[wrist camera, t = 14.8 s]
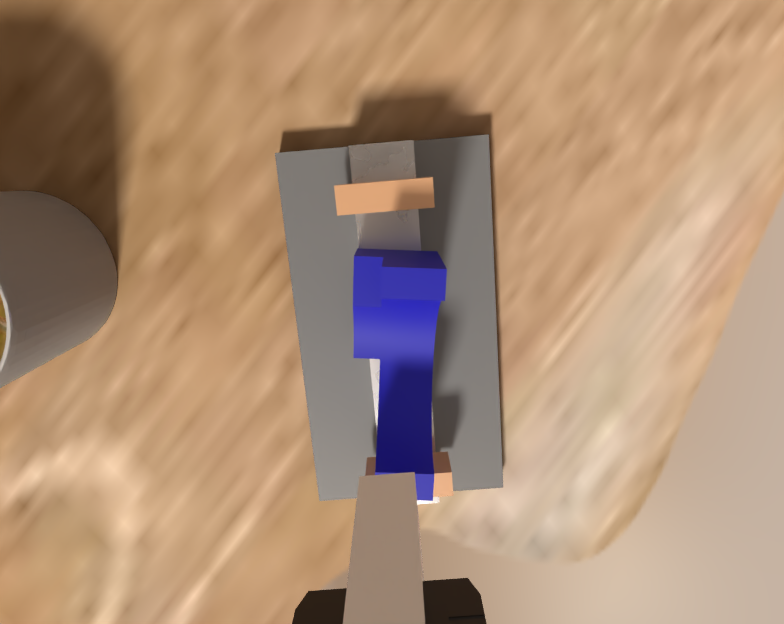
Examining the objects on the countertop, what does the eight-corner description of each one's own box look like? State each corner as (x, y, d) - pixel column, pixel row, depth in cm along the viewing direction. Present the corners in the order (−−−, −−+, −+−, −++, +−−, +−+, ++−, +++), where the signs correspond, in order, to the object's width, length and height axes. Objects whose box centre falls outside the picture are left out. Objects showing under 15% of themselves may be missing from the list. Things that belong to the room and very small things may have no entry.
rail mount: (279, 153, 33) (259, 150, 28) (485, 135, 33) (500, 129, 28) (321, 490, 38) (311, 536, 34) (499, 477, 38) (515, 521, 33)
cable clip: (357, 248, 32) (349, 265, 26) (437, 251, 32) (446, 269, 26) (353, 443, 35) (344, 497, 29) (426, 445, 35) (432, 500, 29)
